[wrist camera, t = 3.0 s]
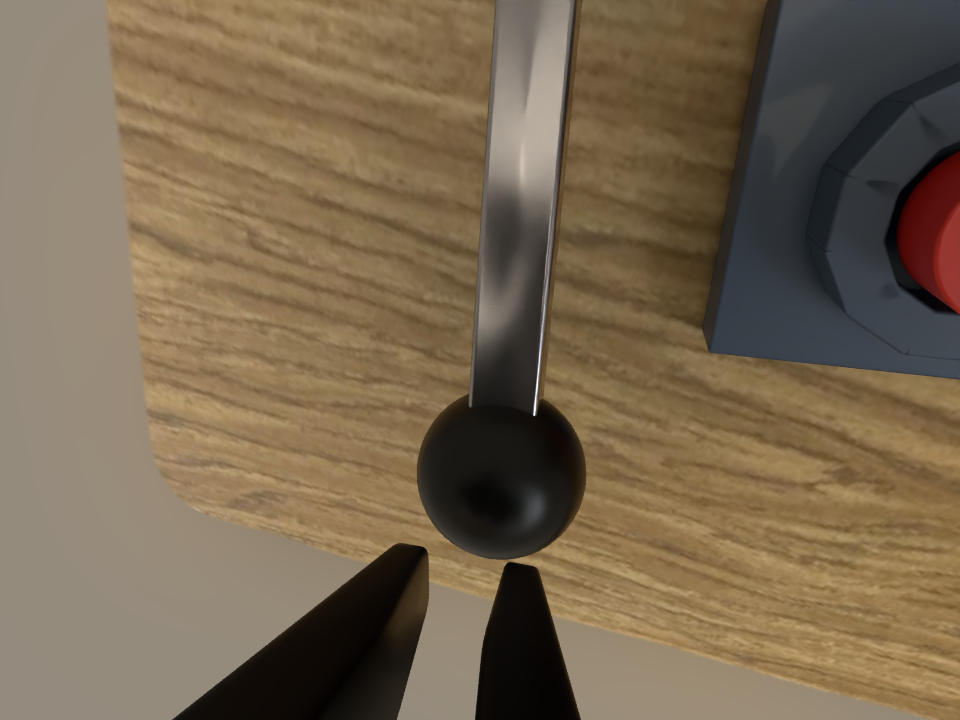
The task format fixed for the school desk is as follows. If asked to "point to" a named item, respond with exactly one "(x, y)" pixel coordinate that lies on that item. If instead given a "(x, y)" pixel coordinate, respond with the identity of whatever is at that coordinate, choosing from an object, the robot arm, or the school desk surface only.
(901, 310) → the button block
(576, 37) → the lever handle
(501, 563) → the school desk surface
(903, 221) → the red button
